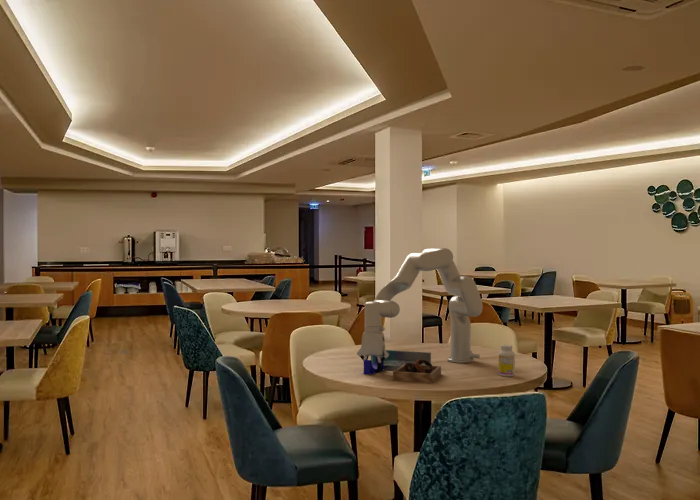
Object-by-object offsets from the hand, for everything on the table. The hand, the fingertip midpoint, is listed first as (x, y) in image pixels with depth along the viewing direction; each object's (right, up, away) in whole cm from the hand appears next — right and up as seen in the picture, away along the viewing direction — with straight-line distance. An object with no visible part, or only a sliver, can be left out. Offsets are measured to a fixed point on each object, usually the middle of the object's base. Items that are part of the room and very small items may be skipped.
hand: (372, 370), depth 268 cm
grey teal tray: (+13, -1, +11) cm, 17 cm away
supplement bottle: (+57, -1, -6) cm, 57 cm away
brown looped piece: (+19, -1, -9) cm, 21 cm away
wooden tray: (+18, -1, -11) cm, 21 cm away
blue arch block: (0, -1, 0) cm, 1 cm away
